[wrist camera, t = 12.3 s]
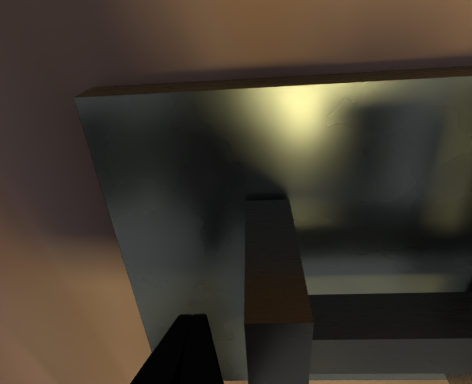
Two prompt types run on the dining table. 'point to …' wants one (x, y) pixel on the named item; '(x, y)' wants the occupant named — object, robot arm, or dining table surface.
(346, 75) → the vise
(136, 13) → the dining table surface
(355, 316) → the jaw
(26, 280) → the dining table surface
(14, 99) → the dining table surface
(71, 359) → the dining table surface
